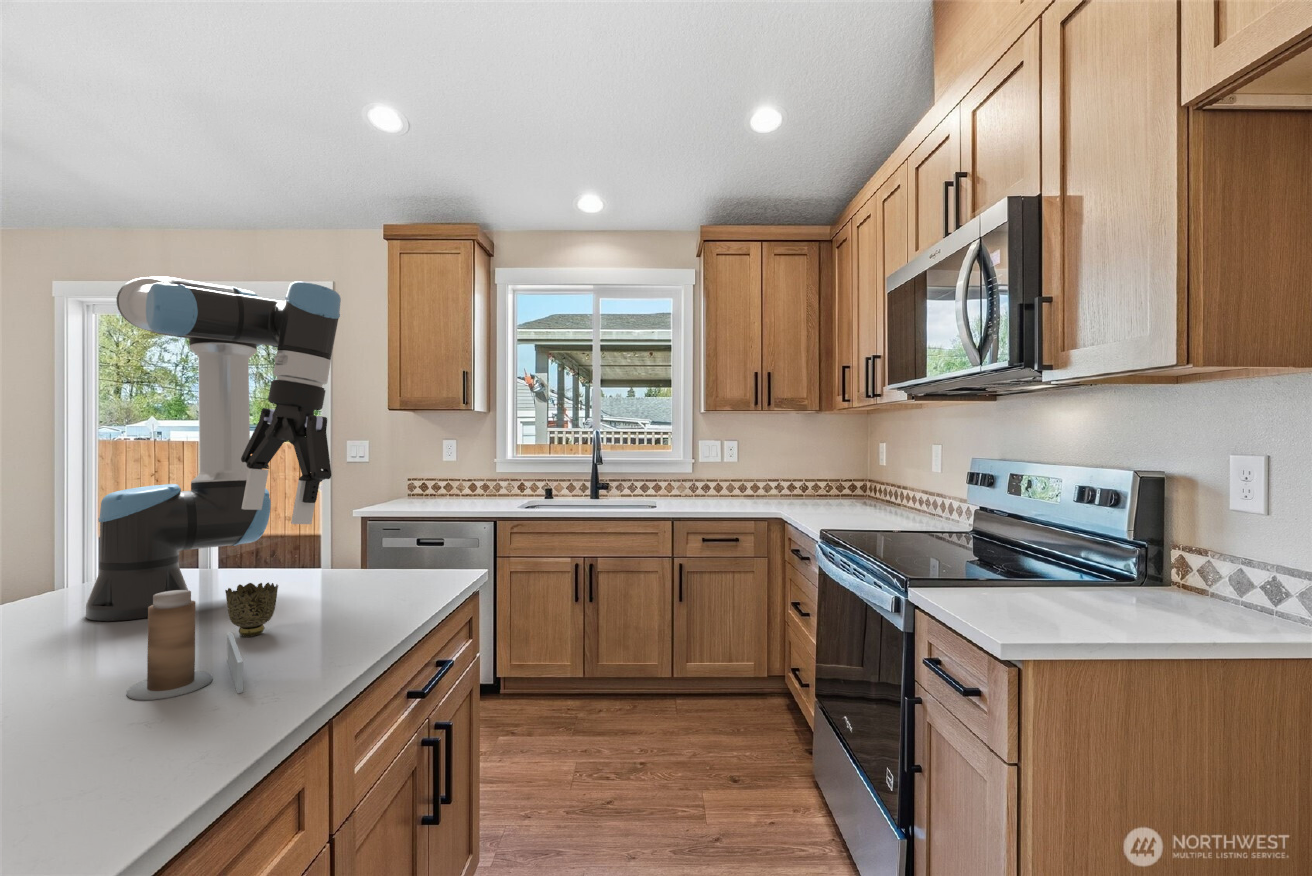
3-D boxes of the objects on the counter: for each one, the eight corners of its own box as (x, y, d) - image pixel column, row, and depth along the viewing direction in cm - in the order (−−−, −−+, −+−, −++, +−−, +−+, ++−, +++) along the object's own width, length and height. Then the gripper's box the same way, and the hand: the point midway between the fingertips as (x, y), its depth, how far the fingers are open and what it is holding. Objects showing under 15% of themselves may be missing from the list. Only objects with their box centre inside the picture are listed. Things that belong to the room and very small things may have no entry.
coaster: (128, 683, 84) (128, 681, 84) (210, 668, 90) (210, 666, 90) (125, 706, 77) (125, 703, 77) (214, 688, 83) (214, 686, 83)
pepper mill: (147, 681, 84) (148, 592, 84) (193, 673, 87) (194, 587, 87) (146, 694, 80) (148, 600, 80) (195, 685, 83) (196, 594, 83)
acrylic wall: (227, 660, 93) (227, 633, 93) (231, 659, 93) (232, 632, 93) (237, 693, 81) (237, 662, 81) (242, 692, 82) (243, 661, 82)
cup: (251, 643, 101) (252, 593, 101) (213, 639, 102) (214, 590, 102) (287, 629, 108) (288, 583, 108) (251, 626, 109) (252, 580, 109)
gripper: (231, 373, 101) (207, 503, 100) (325, 382, 89) (299, 530, 88) (278, 382, 108) (256, 504, 107) (371, 392, 96) (347, 530, 94)
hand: (275, 516), depth 97 cm, fingers open, 13 cm apart
